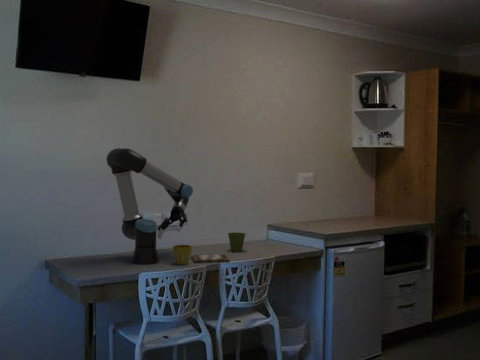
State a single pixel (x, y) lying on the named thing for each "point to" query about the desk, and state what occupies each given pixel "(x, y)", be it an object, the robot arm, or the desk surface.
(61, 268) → the desk surface
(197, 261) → the base plate
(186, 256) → the plant pot
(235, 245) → the plant pot
